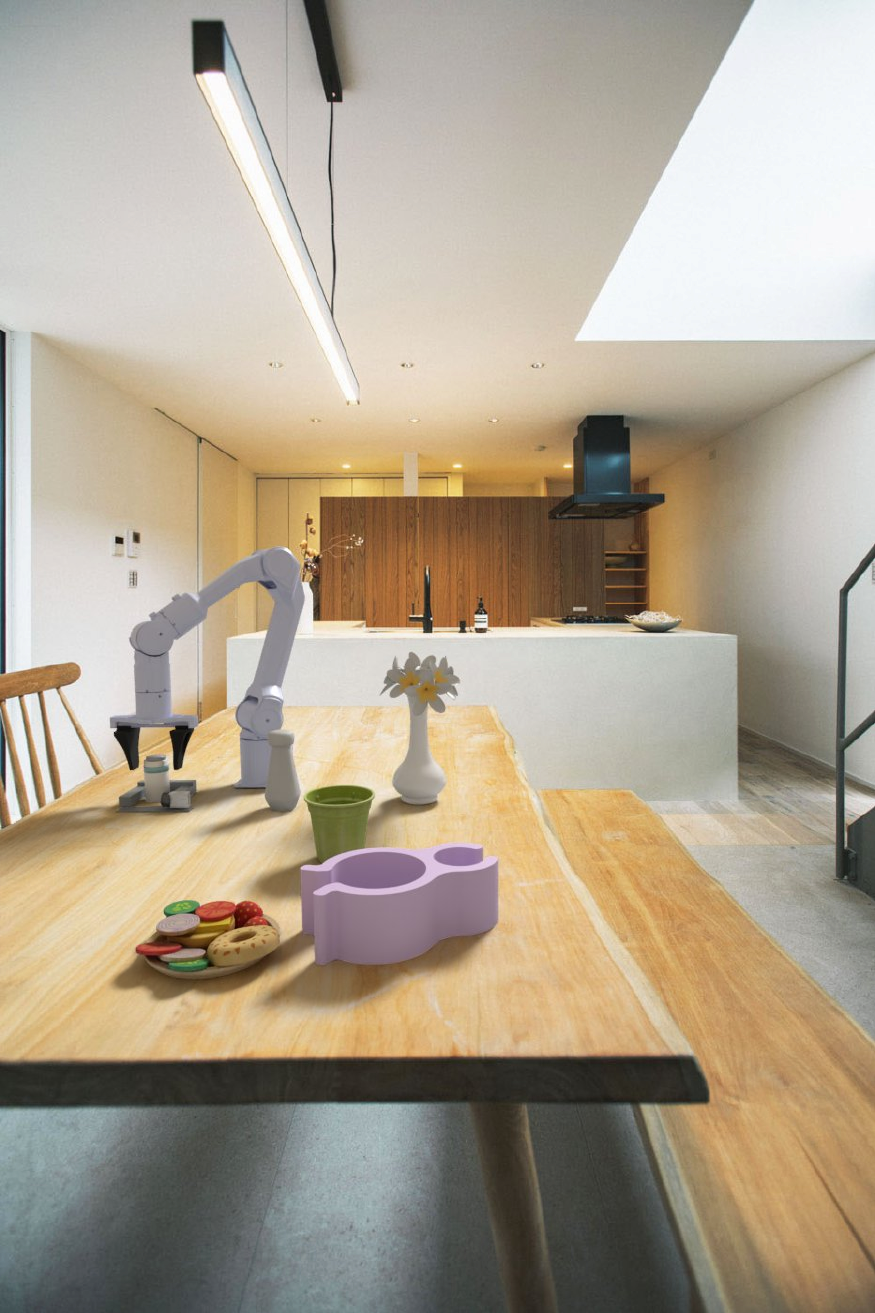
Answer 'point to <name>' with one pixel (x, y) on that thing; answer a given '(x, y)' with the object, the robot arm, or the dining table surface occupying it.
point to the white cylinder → (156, 777)
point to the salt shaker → (282, 773)
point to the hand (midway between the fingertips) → (156, 768)
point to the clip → (397, 901)
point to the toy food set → (210, 939)
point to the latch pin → (176, 799)
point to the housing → (139, 793)
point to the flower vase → (420, 724)
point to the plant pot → (339, 818)
